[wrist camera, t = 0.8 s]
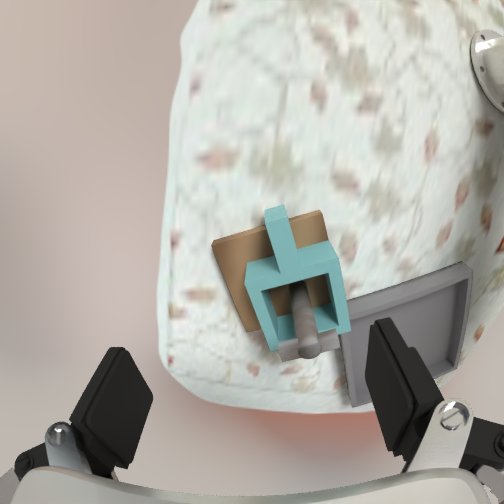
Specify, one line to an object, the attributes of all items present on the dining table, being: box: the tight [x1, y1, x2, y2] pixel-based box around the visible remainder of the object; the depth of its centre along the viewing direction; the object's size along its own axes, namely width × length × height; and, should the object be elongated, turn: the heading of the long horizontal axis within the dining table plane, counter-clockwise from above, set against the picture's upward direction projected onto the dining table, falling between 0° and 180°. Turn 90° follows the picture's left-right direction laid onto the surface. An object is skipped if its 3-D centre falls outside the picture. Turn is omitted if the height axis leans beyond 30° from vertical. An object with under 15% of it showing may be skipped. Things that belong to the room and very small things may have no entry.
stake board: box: [211, 210, 340, 362], centre depth 27 cm, size 12×12×12 cm
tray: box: [339, 261, 473, 408], centre depth 35 cm, size 20×20×3 cm
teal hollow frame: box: [245, 205, 351, 351], centre depth 29 cm, size 9×14×4 cm, turn 18°
